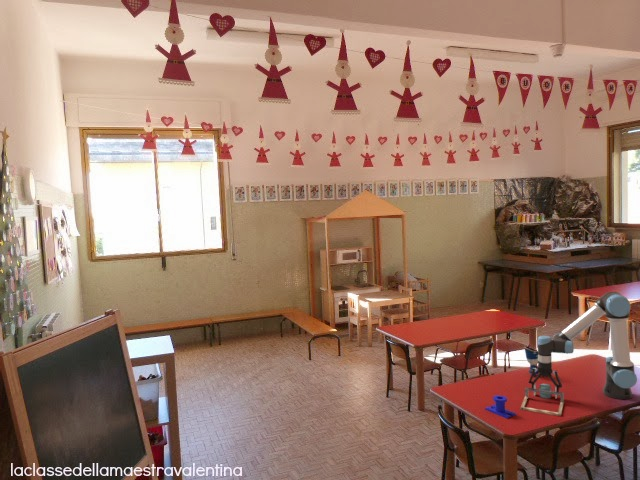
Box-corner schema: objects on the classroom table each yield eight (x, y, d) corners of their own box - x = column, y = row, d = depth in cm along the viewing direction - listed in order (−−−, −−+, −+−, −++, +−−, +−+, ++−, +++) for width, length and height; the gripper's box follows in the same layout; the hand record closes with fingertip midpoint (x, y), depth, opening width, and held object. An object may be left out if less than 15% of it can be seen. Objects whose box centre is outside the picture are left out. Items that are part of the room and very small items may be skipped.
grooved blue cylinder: (551, 395, 294) (551, 384, 293) (550, 399, 288) (550, 388, 288) (540, 394, 297) (540, 383, 297) (539, 397, 292) (538, 386, 291)
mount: (485, 410, 278) (484, 395, 277) (493, 406, 282) (493, 392, 281) (507, 419, 265) (506, 403, 264) (515, 415, 269) (515, 400, 268)
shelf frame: (563, 403, 282) (563, 401, 282) (560, 416, 265) (560, 414, 265) (525, 397, 293) (525, 395, 293) (520, 409, 276) (520, 407, 276)
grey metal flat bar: (563, 403, 282) (563, 392, 282) (563, 404, 281) (563, 393, 280) (525, 397, 293) (525, 387, 293) (525, 398, 292) (524, 388, 291)
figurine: (541, 378, 322) (541, 349, 321) (527, 378, 324) (526, 349, 323) (537, 372, 335) (536, 344, 334) (523, 372, 337) (522, 344, 336)
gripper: (566, 362, 288) (567, 397, 290) (524, 357, 301) (525, 391, 302) (565, 365, 282) (566, 401, 283) (523, 360, 294) (523, 395, 296)
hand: (545, 396), depth 293 cm, fingers open, 11 cm apart
